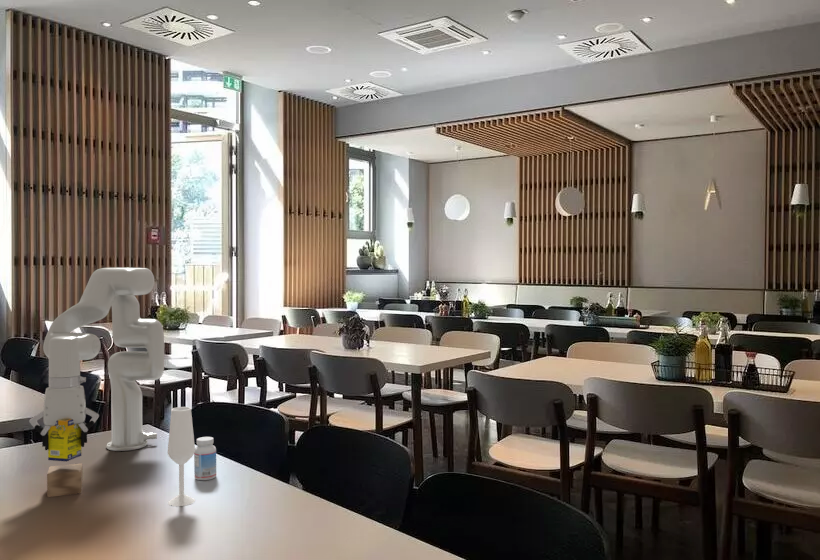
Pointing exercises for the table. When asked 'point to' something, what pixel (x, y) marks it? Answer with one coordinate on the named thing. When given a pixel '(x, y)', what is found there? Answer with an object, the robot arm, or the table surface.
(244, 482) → the table surface
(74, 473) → the tan wooden block
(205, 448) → the pill bottle
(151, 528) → the table surface
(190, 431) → the champagne flute
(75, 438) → the supplement box
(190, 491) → the table surface
